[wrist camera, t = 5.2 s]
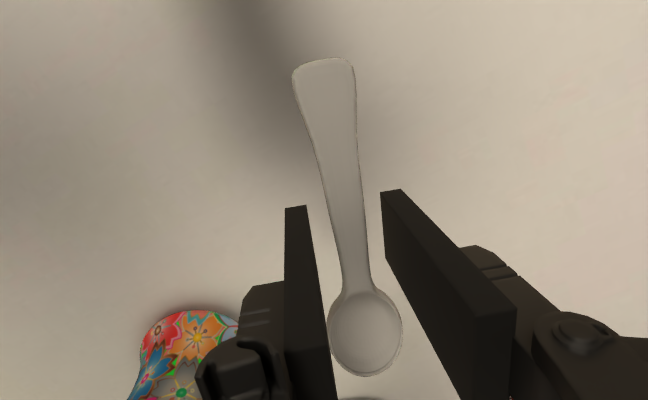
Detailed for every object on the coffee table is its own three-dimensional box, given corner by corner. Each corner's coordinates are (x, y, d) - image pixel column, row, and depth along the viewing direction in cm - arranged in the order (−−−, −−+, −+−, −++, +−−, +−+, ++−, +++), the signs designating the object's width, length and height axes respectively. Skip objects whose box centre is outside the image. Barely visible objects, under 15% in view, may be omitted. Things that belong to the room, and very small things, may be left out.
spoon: (332, 361, 15) (338, 399, 13) (272, 72, 11) (269, 66, 9) (398, 346, 15) (415, 383, 13) (360, 56, 11) (375, 47, 9)
